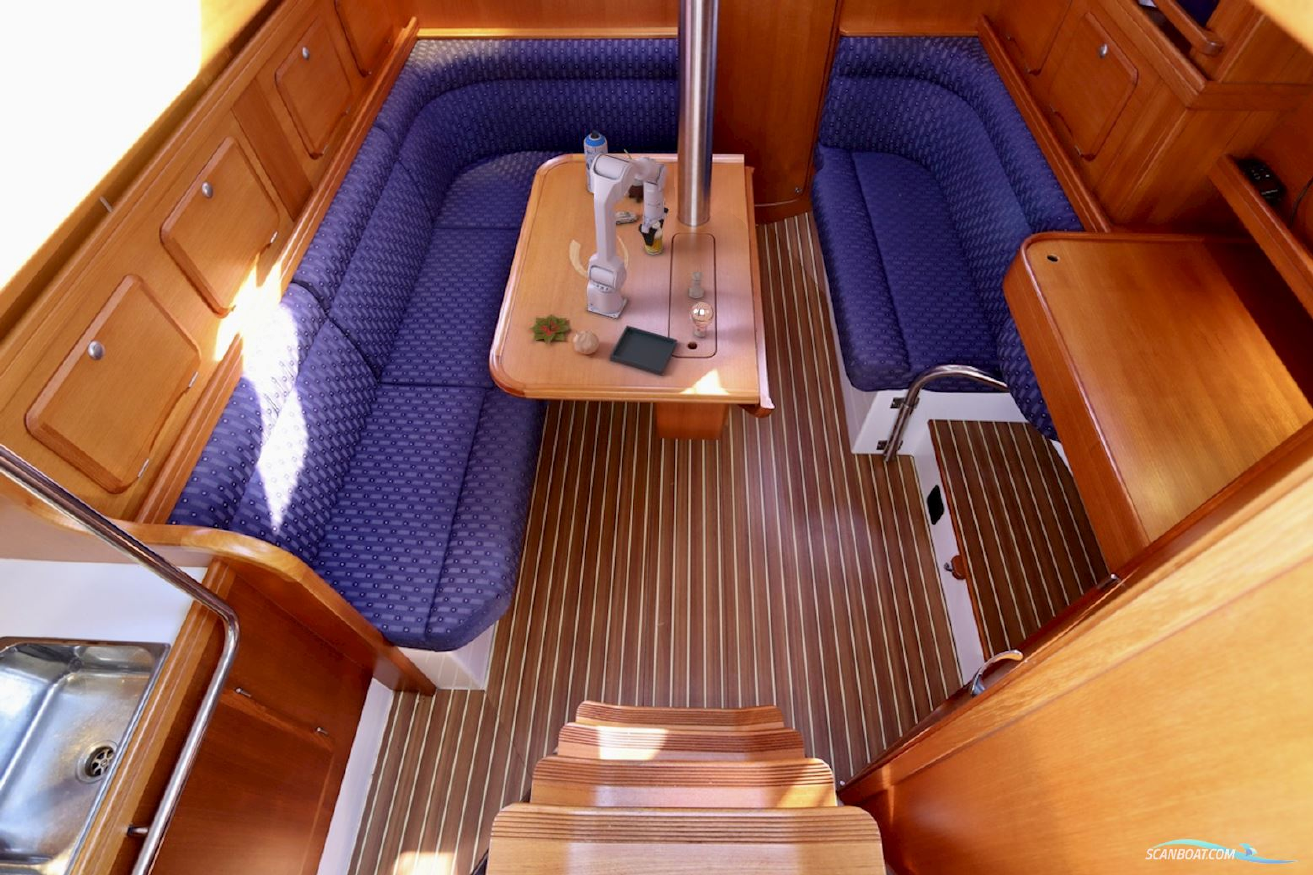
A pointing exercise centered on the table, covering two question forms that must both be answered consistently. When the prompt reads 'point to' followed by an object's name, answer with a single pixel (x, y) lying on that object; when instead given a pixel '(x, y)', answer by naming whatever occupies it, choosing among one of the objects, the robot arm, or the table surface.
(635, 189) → the mate gourd
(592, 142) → the aerosol can
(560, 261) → the table surface
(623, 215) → the toy car
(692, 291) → the rook chess piece
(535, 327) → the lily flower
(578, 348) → the garlic bulb
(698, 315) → the light bulb
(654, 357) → the tray
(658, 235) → the supplement bottle
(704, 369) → the table surface
